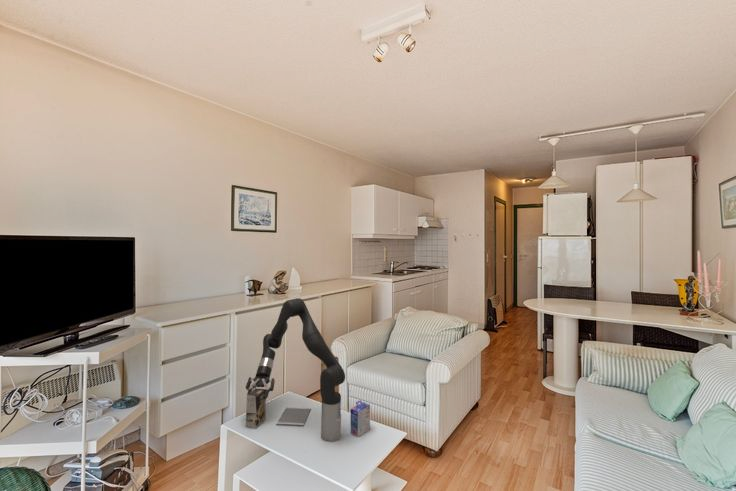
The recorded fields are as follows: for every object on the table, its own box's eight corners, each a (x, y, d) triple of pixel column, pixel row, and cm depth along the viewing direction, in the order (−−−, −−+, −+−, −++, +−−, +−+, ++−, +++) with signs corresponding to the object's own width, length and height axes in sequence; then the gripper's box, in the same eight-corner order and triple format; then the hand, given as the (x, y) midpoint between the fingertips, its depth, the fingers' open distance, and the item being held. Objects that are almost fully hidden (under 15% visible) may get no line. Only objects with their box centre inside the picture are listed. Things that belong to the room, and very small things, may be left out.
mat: (310, 409, 189) (310, 408, 189) (303, 426, 171) (303, 424, 171) (286, 408, 189) (286, 406, 189) (276, 425, 171) (276, 423, 171)
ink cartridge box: (362, 425, 173) (362, 397, 173) (370, 429, 170) (371, 400, 170) (349, 433, 165) (350, 403, 166) (357, 437, 162) (358, 407, 162)
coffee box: (256, 428, 167) (257, 396, 168) (245, 427, 169) (246, 394, 169) (265, 419, 176) (266, 388, 177) (254, 418, 178) (255, 387, 178)
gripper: (250, 364, 182) (241, 394, 171) (276, 365, 182) (268, 395, 170) (253, 370, 187) (245, 400, 176) (279, 371, 187) (271, 401, 175)
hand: (256, 398), depth 173 cm, fingers open, 8 cm apart
